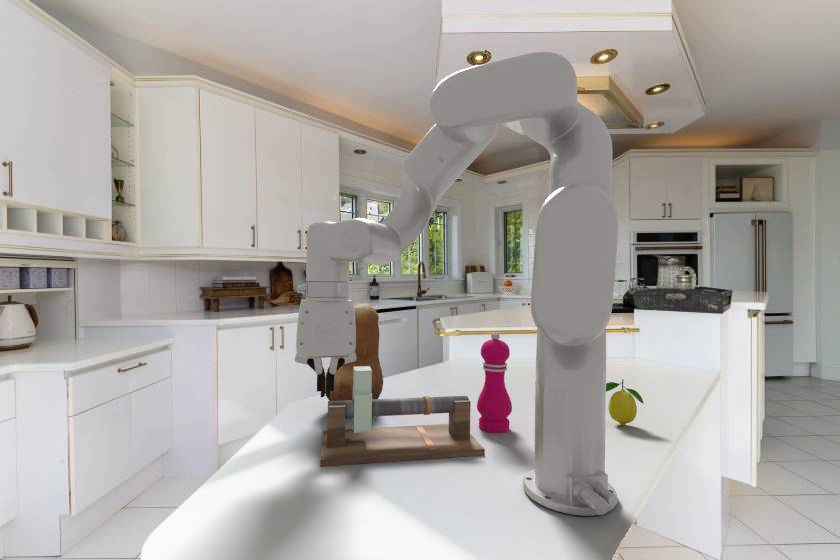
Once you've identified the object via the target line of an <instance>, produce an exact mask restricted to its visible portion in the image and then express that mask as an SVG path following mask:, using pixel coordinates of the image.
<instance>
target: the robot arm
mask: <svg viewBox="0 0 840 560" xmlns="http://www.w3.org/2000/svg"><path fill="white" fill-rule="evenodd" d="M577 78H578V77H577V73H576V71H575V68H574V66H573V65H572V63H571V62H570V60H568V59H567V58H566V57H565V56H563V55H561V54H558V53H556V52H552V51H536V52H530V53H525V54H521V55H517V56H516V55H515V56H513V57H507V58H504V59H500V60H499V59H498V60H495V61H492V62H491V61H490V62H487V63H486V62H485V63H483V64H479V65H475V66H471V67H468V68H465V69H461V70H459V71H456V72H453V73H452V74H450V75H449V76H446V77H445V78H444V79H442V80H441V81H440V82H439V83H438V84H436V86H435V88H434V89H433V91H432V93H431V96H430V99H429V105H428V106H429V113H430V116H431V119H432V120H433V121H434V124H433V125H432V127H431V128H430V129H429V131H427V132H426V133H425V135H424V136H423V137H422V138H421V139H420V141H418V143H417V144H416V145H415V147H413V149H412V150H411V151H410V152H409V154H408V155H406V157H405V158H404V159H403V161H402V163H401V166H400V167H401V171H400V172H401V191H400V195H399V197H398V199H397V202H396V203H395V205H394V207H393V208H392V209H391V210H390V212H389V213H388V214H387V215H386V216H385V217H384V218H383V220H382V221H381V222H377V221H374V220H370V219H367V218H362V217H361V218H360V217H356V218H355V217H353V218H349V219H345V220H341V221H336V222H333V221H319V222H318V221H317V222H313V223H311V224H310V225H309V226H308V228H307V232H306V271H305V273H306V274H305V275H306V276H305V281H306V282H305V283H303V284H301V285H299V284H297V288H296V289H297V290H296V291H297V294H303V295H305V299H301V300H300V304H299V308H298V315H297V325H296V342H295V343H296V344H295V351H296V354H295V357H294V361H295V363H296V364H297V363H298V364H303V365H308V367H310V368H311V370H313V372H314V373H315V374H316V392H320V398H324V397H326V396H327V397H330V391H334V374H335V373H336V371H337V370H338V369H339V368H340V367H341V366H342V365H343V364H346V363H350V362H354V361H356V359H357V358H356V353H355V348H356V325H355V311H354V305H355V304H354V301H353V300H351V299H350V298H349V297H350V294H349V293H350V263H353V264H354V263H355V264H360V265H361V264H362V265H374V266H385V265H389V264H392V263H393V262H395V261H396V260H398V259H399V258H400V257H401V256H402V255H403V254H404V253H405V252H406V251H407V250H408V249H409V248H410V247H411V246H412V244H414V242H415V241H416V240H417V239H418V238H419V237H420V235H421V234H422V233H423V231H424V230H425V228H426V227H427V226H428V223H429V222H430V220H431V218H432V216H433V214H434V212H435V210H436V208H437V205H438V203H439V201H440V200H441V198H442V197H443V195H444V194H445V193H446V192H448V189H450V188H451V187H452V185H454V183H455V182H456V180H458V179H459V177H460V176H461V175H462V174H463V173H465V171H466V170H467V169H468V167H470V165H471V164H472V163H473V162H474V161H475V160H476V159H477V158H478V157H479V156H480V155H481V153H482V152H483V151H484V150H485V149H486V148H487V147H488V146H489V145H490V143H491V142H493V140H494V138H495V136H496V134H497V132H498V128H499V124H505V123H511V122H516V121H517V122H518V123H519V125H520V127H521V129H522V131H523V133H524V134H525V135H526V136H527V137H529V138H530V139H531V140H532V141H534V142H536V143H537V144H539V145H541V146H543V148H545V149H546V150H547V151H548V153H549V156H550V159H549V160H550V162H549V163H550V164H549V172H548V173H549V174H548V176H549V177H548V183H549V184H548V192H547V193H548V194H547V195H548V196H547V198H545V201H544V202H543V203H542V205H541V207H540V209H539V211H538V214H537V217H536V218H537V219H536V225H535V233H534V234H535V235H534V236H535V237H534V250H533V261H532V275H531V277H532V278H531V291H530V313H531V314H530V315H531V317H532V321H533V323H534V325H535V327H536V347H535V348H536V353H535V354H536V355H535V357H536V358H535V380H534V381H535V391H534V392H535V395H534V397H535V398H534V400H535V401H534V403H535V404H534V405H535V406H534V457H533V458H534V465H533V467H534V469H530V470H529V471H527V472H526V473H525V474H524V476H523V479H522V480H523V481H522V487H523V490H524V492H525V493H526V495H527V496H528V497H529V498H530V499H531V500H533V501H534V502H536V503H537V504H539V505H541V506H543V507H545V508H548V509H550V510H552V511H556V512H559V513H563V514H567V515H572V516H582V517H583V516H586V517H587V516H588V517H589V516H590V517H591V516H592V517H593V516H603V515H605V514H607V513H609V512H611V511H612V510H614V508H615V507H616V506H617V504H618V503H619V498H618V493H617V491H616V489H615V488H614V487H613V486H612V484H610V483H609V475H608V474H607V473H606V412H607V411H606V409H607V408H606V406H607V405H606V402H607V399H606V398H607V395H606V393H607V392H606V383H607V326H608V325H609V323H610V321H611V317H612V312H613V311H612V310H613V303H614V288H615V279H616V277H615V276H616V267H617V266H616V265H617V254H618V253H617V252H618V241H619V239H618V238H619V237H618V236H619V217H618V211H617V207H616V205H615V204H614V201H613V199H612V189H613V187H612V185H613V141H612V137H611V134H610V132H609V129H608V127H607V125H606V124H605V123H604V121H603V120H602V119H601V118H600V116H598V115H597V114H596V113H595V112H594V111H592V110H591V109H589V108H588V107H587V106H585V105H583V104H581V103H580V102H579V101H578V79H577ZM323 358H325V359H327V358H330V362H329V366H330V367H329V366H328V368H327V370H328V371H325V368H324V367H323V360H322V359H323ZM325 377H326V394H325ZM327 397H326V398H327Z"/></svg>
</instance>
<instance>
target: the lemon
mask: <svg viewBox="0 0 840 560" xmlns="http://www.w3.org/2000/svg"><path fill="white" fill-rule="evenodd" d="M621 380H622V381H621V383H617V382H614V381H611V382H610V381H609V382H606V393H607V392H609V391H613V390H615V389H616V388H618V387H619V386H620V385H621V389H620V390H618V391H616V392H614V393H612V395H611V397H610V398H609V401H608V406H607V407H608V413H609V416H610V417H611V419H612V420H614V421H615V422H617V423H619V425H620V426H621V425H624V426H625V425H626V424H629V423H631V422H633V421H634V420H635V419H636V416H637V413H638V408H637V404H636V401H635V399H636V400H637V401H639V403H641V404H643V405H644V400H643V398H642V396H641V394H640V393H639V392H638V391H636V390H635V389H633V388H626V387H625V386H624V378H622V379H621Z"/></svg>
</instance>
